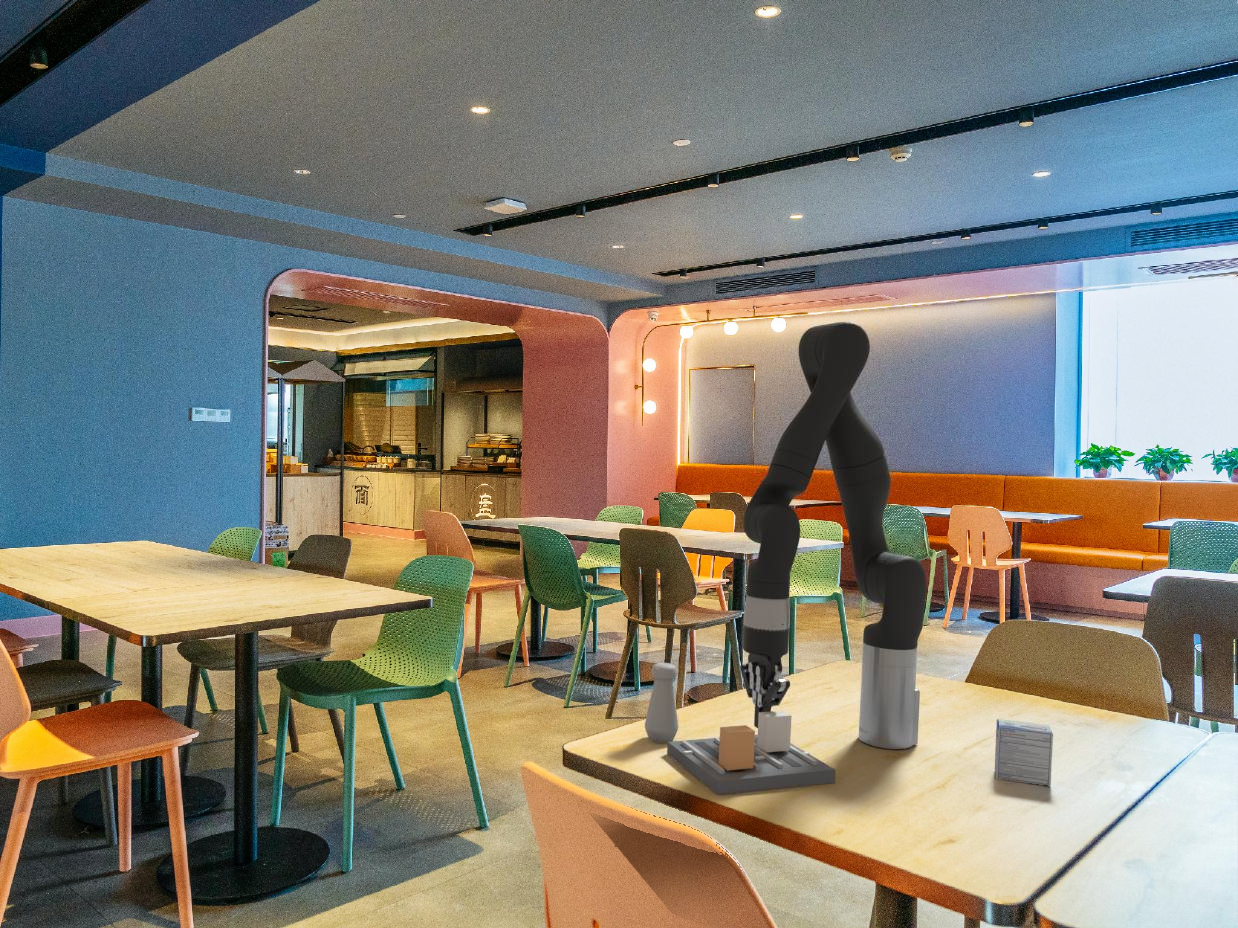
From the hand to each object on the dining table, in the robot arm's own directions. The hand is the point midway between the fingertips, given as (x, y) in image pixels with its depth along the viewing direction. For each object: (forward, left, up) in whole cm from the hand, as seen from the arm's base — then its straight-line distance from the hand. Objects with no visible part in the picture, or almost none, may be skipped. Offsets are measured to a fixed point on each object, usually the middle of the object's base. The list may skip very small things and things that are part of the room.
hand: (761, 727), depth 145 cm
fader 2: (0, +4, -2) cm, 5 cm away
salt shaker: (+13, -11, -5) cm, 18 cm away
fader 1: (+10, +10, -2) cm, 14 cm away
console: (+5, +5, -4) cm, 8 cm away
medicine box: (-36, +20, -5) cm, 41 cm away
